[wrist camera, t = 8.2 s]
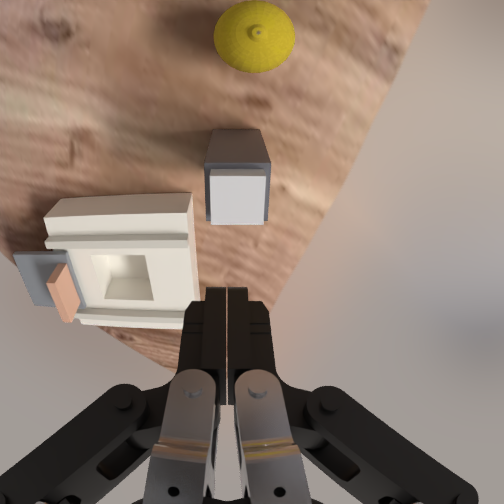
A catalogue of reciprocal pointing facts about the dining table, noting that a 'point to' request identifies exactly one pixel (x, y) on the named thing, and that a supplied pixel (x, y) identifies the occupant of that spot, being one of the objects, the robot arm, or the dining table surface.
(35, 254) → the panel
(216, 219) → the plug
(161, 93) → the dining table surface
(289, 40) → the lemon
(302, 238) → the dining table surface
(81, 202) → the socket
